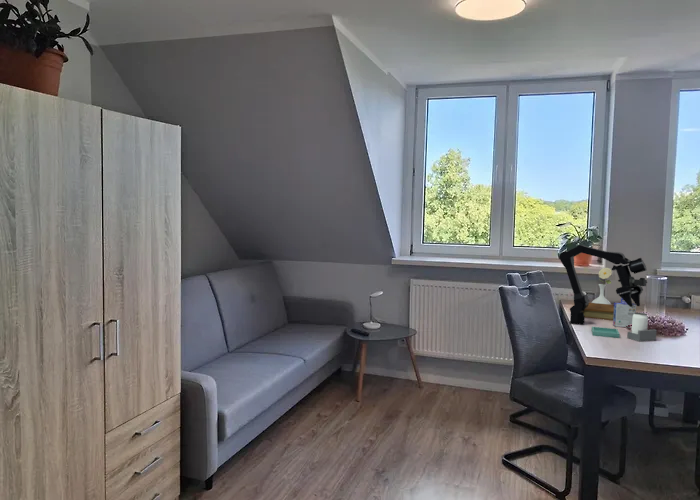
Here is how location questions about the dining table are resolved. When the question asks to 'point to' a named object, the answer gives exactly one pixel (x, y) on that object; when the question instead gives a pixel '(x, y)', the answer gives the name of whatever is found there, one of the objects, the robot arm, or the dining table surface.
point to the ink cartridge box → (623, 314)
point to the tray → (605, 332)
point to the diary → (599, 311)
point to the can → (639, 322)
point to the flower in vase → (603, 286)
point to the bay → (643, 335)
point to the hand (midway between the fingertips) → (635, 306)
